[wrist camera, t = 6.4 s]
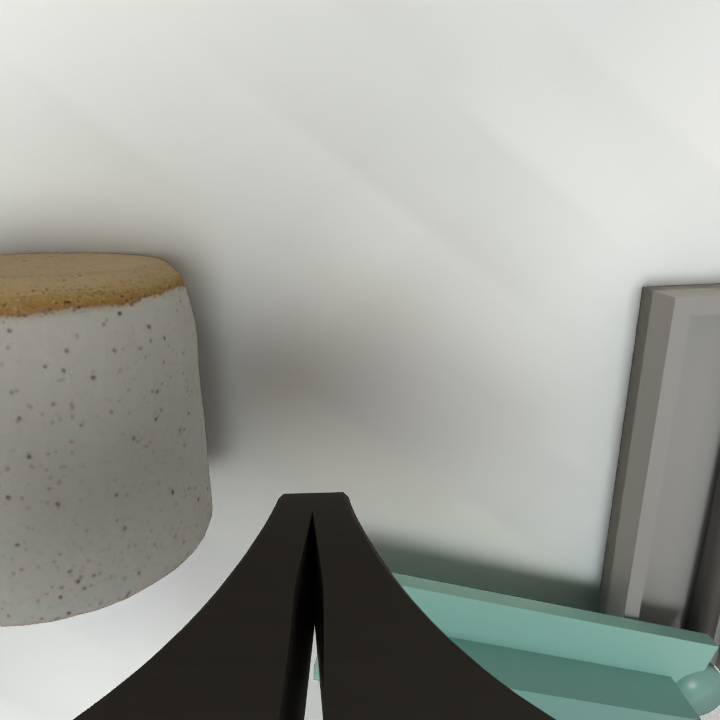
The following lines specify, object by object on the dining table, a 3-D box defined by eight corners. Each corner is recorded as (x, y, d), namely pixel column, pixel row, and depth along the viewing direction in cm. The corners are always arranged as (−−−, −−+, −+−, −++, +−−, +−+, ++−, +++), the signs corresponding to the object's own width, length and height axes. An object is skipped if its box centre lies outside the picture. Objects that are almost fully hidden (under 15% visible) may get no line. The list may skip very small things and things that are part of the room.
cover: (739, 639, 22) (790, 695, 19) (685, 726, 23) (726, 787, 21) (348, 562, 19) (352, 615, 17) (313, 664, 20) (313, 726, 18)
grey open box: (719, 652, 24) (748, 688, 23) (590, 663, 24) (610, 700, 22) (808, 279, 19) (856, 289, 17) (643, 287, 19) (675, 297, 17)
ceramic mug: (213, 241, 17) (126, 287, 10) (233, 468, 20) (175, 636, 12) (-132, 243, 17) (-491, 292, 9) (-66, 475, 19) (-306, 655, 12)
